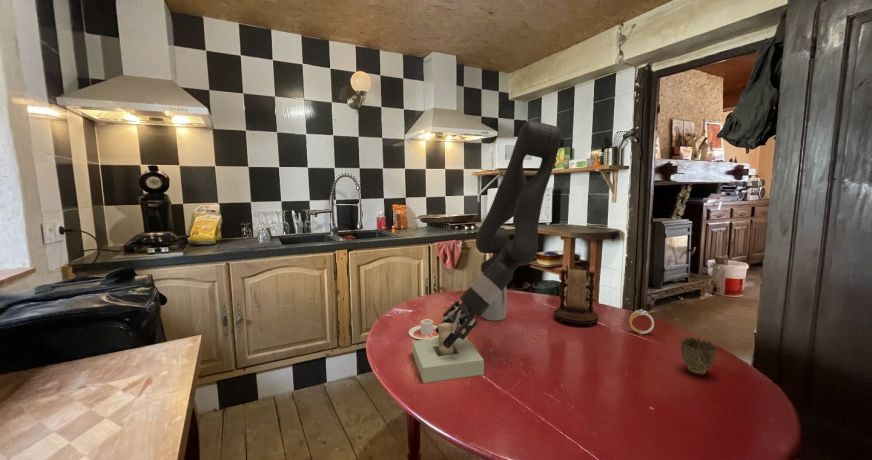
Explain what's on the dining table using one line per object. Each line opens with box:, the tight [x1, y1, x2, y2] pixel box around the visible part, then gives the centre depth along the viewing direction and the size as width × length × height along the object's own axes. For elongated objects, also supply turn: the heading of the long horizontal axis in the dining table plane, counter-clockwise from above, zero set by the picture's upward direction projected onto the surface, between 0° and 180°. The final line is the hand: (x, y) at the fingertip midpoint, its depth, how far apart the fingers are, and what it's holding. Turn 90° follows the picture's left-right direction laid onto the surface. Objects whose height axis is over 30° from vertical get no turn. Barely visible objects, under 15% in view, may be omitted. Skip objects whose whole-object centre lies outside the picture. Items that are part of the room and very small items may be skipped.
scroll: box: [553, 264, 599, 327], centre depth 129 cm, size 15×15×20 cm
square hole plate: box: [411, 336, 485, 384], centre depth 100 cm, size 16×16×4 cm
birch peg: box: [438, 323, 454, 356], centre depth 100 cm, size 4×4×11 cm
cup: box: [680, 336, 718, 376], centre depth 93 cm, size 8×7×8 cm
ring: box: [628, 308, 655, 335], centre depth 117 cm, size 7×3×8 cm, turn 61°
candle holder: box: [408, 318, 439, 340], centre depth 121 cm, size 12×12×4 cm
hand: (441, 339), depth 99 cm, fingers open, 8 cm apart
